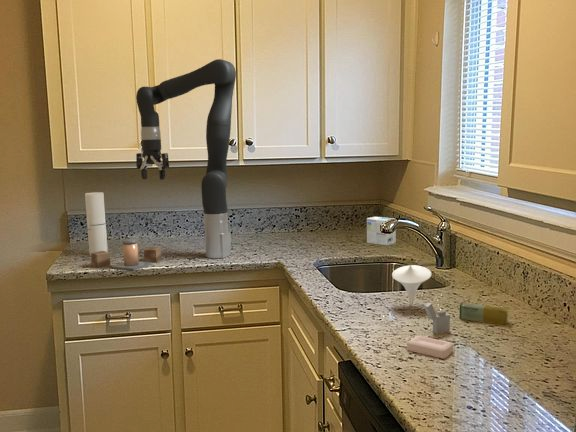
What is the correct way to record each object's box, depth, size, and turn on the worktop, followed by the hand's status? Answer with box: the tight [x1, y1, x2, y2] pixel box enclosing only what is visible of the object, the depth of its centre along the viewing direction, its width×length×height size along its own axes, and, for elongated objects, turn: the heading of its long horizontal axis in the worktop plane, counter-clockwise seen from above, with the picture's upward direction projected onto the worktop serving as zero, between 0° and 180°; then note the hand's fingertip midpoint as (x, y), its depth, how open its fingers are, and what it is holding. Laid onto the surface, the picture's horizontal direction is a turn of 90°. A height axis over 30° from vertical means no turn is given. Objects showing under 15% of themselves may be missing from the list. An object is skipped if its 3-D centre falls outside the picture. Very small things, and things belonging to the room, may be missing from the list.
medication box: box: [459, 301, 509, 326], centre depth 157 cm, size 12×3×4 cm, turn 62°
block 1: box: [90, 251, 112, 269], centre depth 226 cm, size 5×5×5 cm
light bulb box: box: [366, 216, 397, 246], centre depth 255 cm, size 11×7×11 cm, turn 46°
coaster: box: [111, 260, 152, 271], centre depth 224 cm, size 10×10×1 cm
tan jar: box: [121, 238, 140, 266], centre depth 223 cm, size 6×6×9 cm
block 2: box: [143, 246, 163, 264], centre depth 232 cm, size 5×5×5 cm
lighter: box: [422, 301, 451, 335], centre depth 148 cm, size 7×2×8 cm, turn 116°
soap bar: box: [406, 335, 454, 359], centre depth 137 cm, size 5×9×2 cm, turn 52°
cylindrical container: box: [84, 191, 109, 257], centre depth 244 cm, size 7×7×25 cm
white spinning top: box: [391, 264, 432, 307], centre depth 169 cm, size 10×11×12 cm
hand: (153, 179), depth 241 cm, fingers open, 8 cm apart
